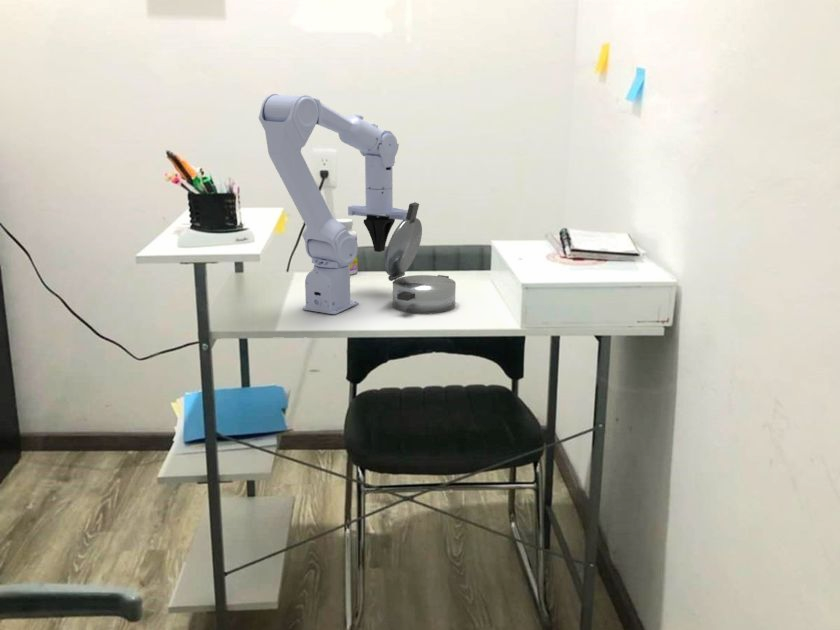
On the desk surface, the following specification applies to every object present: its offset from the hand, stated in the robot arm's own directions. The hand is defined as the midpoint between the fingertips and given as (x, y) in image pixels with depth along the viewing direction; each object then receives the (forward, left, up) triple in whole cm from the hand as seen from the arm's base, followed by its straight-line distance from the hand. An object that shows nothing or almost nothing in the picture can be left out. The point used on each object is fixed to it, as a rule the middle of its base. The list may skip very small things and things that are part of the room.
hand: (379, 250), depth 176 cm
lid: (-4, -9, +3) cm, 10 cm away
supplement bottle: (+12, +17, -10) cm, 23 cm away
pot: (-4, -13, -9) cm, 17 cm away
